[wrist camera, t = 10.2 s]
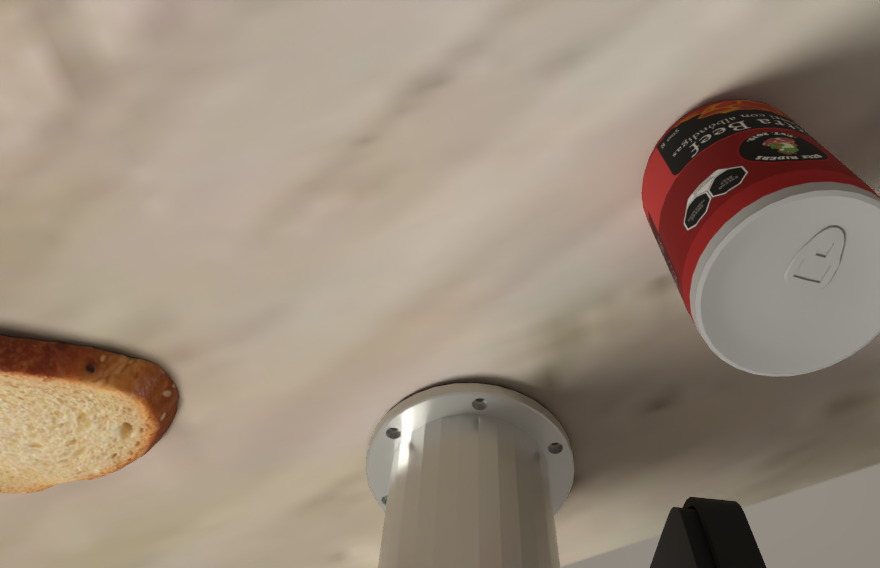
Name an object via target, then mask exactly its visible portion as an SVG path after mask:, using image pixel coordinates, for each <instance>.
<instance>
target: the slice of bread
mask: <svg viewBox="0 0 880 568" xmlns="http://www.w3.org/2000/svg"><path fill="white" fill-rule="evenodd" d="M178 399H179V396H178V392H177V389H176V386H175V384H174V383H173V382H172V380H171V379H170V377H169V376H168V375H167V373H166V372H165V371H164V370H163V369H162V368H161V367H159V366H158V365H156V364H153V363H151V362H148V361H146V360H144V359H136V358H131V357H128V356H125V355H122V354H119V353H114V352H108V351H105V350H101V349H98V348H95V347H91V346H78V345H73V344H69V343H65V342H59V341H55V342H45V341H39V340H35V339H30V338H14V337H8V336H3V335H0V492H3V493H22V492H24V493H30V492H38V491H42V490H44V489H47V488H49V487H51V486H53V485H55V484H58V483H64V482H70V481H75V480H91V479H94V478H98V477H102V476H104V475H107V474H109V473H112V472H115V471H118V470H119V469H121V468H123V467H124V466H126V465H128V464H129V463H131V462H133V461H135V460H136V459H138V458H140V457H142V456H143V455H145V454H146V453H147V452H148V451H149V450H150V449H151V448H152V447H153V446H154V445H155V444H156V443H157V442H158V441H159V440H160V439H161V437H162V436H163V435H164V433H165V432H166V430H167V429H168V428H169V426H170V424H171V422H172V420H173V418H174V416H175V413H176V410H177V401H178Z"/></svg>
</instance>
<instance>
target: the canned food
mask: <svg viewBox="0 0 880 568" xmlns="http://www.w3.org/2000/svg"><path fill="white" fill-rule="evenodd" d="M642 201H643V208H644V211H645V214H646V217H647V220H648V222H649V225H650V227H651V229H652V231H653V234H654V236H655V238H656V240H657V243H658V245H659V247H660V249H661V252H662V254H663V256H664V258H665V261H666V263H667V265H668V267H669V270H670V272H671V274H672V276H673V279H674V281H675V283H676V285H677V288H678V290H679V292H680V294H681V297H682V299H683V301H684V304H685V306H686V308H687V310H688V313H689V314H690V316H691V318H692V320H693V322H694V324H695V327H696V328H697V330H698V331H699V333H700V335H701V336H702V338H703V339H704V341H705V342H706V343H707V345H708V346H709V348H710V349H711V350H712V351H713V352H714V353H715V354H716V355H717V356H718V357H719V358H720V359H721V360H723V361H725V362H726V363H728V364H730V365H731V366H733V367H735V368H737V369H740V370H743V371H746V372H749V373H752V374H757V375H764V376H771V377H776V376H795V375H800V374H806V373H811V372H814V371H817V370H820V369H823V368H826V367H829V366H832V365H834V364H836V363H838V362H840V361H842V360H844V359H846V358H848V357H850V356H852V355H853V354H855V353H856V352H857V351H859V350H860V349H862V348H863V347H865V346H866V345H868V344H869V343H870V342H871V341H872V340H873V339H874V338H875V337H876V336H878V335H879V334H880V197H879V196H878V195H877V194H876V193H875V192H874V191H873V190H872V189H871V188H870V187H869V186H868V185H867V184H865V183H864V182H863V181H862V180H861V179H860V178H858V177H857V176H856V175H855V174H854V173H853V172H852V171H850V170H849V169H848V168H847V167H846V166H845V165H843V164H842V163H841V162H840V161H839V160H838V159H837V158H835V157H834V156H833V155H832V154H831V153H830V152H828V151H827V150H826V149H825V148H824V147H823V146H821V145H820V144H819V143H818V142H817V141H816V140H815V139H813V138H812V137H811V136H810V135H809V134H808V133H806V132H805V131H804V130H803V129H802V128H801V127H800V126H798V125H797V124H796V123H795V122H794V121H793V120H791V119H790V118H789V117H788V116H786V115H785V114H784V113H782V112H781V111H779V110H778V109H777V108H774V107H772V106H769V105H767V104H764V103H762V102H755V101H749V100H727V101H720V102H716V103H711V104H707V105H705V106H703V107H700V108H698V109H696V110H694V111H692V112H690V113H689V114H687V115H686V116H684V117H682V118H681V119H679V120H678V121H677V122H676V123H675V124H674V125H673V126H672V127H670V128H669V129H668V130H667V131H666V132H665V134H664V135H663V136H662V138H661V139H660V140H659V141H658V143H657V144H656V146H655V148H654V150H653V152H652V154H651V155H650V157H649V160H648V163H647V167H646V170H645V173H644V177H643V186H642Z"/></svg>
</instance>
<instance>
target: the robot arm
mask: <svg viewBox="0 0 880 568" xmlns="http://www.w3.org/2000/svg"><path fill="white" fill-rule="evenodd" d="M574 470H575V468H574V460H573V452H572V449H571V445H570V442H569V438H568V436H567V434H566V433H565V431H564V429H563V427H562V426H561V424H560V423H559V422H558V420H557V419H556V418H555V417H554V416H553V415H552V414H551V413H550V412H549V411H548V410H547V409H546V408H544V407H543V406H541V405H540V404H539V403H537V402H536V401H535V400H533V399H531V398H529V397H527V396H525V395H522V394H520V393H518V392H516V391H513V390H510V389H506V388H503V387H499V386H495V385H487V384H480V383H455V384H449V385H444V386H438V387H433V388H431V389H428V390H425V391H422V392H419V393H416V394H414V395H413V396H411V397H409V398H407V399H405V400H404V401H402V402H400V403H399V404H398V405H396V406H395V407H394V408H393V409H392V410H390V411H389V412H388V413H387V414H386V415H385V416H384V418H383V419H382V420H381V421H380V423H379V424H378V425H377V427H376V429H375V431H374V433H373V435H372V437H371V439H370V443H369V448H368V453H367V458H366V475H367V480H368V485H369V488H370V490H371V492H372V494H373V496H374V498H375V500H376V501H377V503H378V504H379V505H380V506H381V508H382V509H383V510H384V512H385V518H384V526H383V534H382V541H381V549H380V557H379V564H378V568H560V562H559V553H558V545H557V536H556V528H555V520H554V515H555V514H556V513H557V512H558V511H559V510H560V508H561V507H562V505H563V504H564V502H565V501H566V499H567V498H568V495H569V493H570V490H571V487H572V485H573V479H574ZM650 568H766V566H765V563H764V561H763V558H762V556H761V553H760V551H759V548H758V546H757V543H756V541H755V538H754V536H753V533H752V531H751V529H750V526H749V524H748V521H747V519H746V516H745V514H744V511H743V510H742V508H741V506H740V505H739V504H738V503H737V502H736V501H726V500H716V499H706V498H696V497H689V498H688V499H687V500H686V502H685V504H684V506H683V508H678V507H673V508H672V509H671V511H670V513H669V515H668V518H667V521H666V523H665V526H664V529H663V532H662V535H661V538H660V540H659V543H658V546H657V549H656V552H655V555H654V558H653V561H652V563H651V566H650Z"/></svg>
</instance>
